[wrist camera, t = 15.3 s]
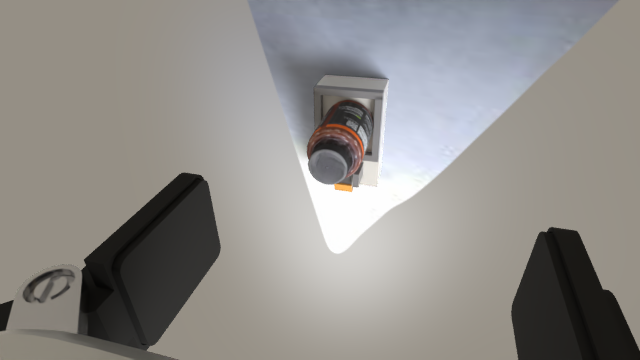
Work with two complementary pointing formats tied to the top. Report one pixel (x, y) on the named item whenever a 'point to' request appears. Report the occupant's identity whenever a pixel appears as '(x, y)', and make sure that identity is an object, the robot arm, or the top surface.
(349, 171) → the supplement bottle
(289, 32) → the top surface
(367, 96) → the box
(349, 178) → the breaker lever
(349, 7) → the top surface
